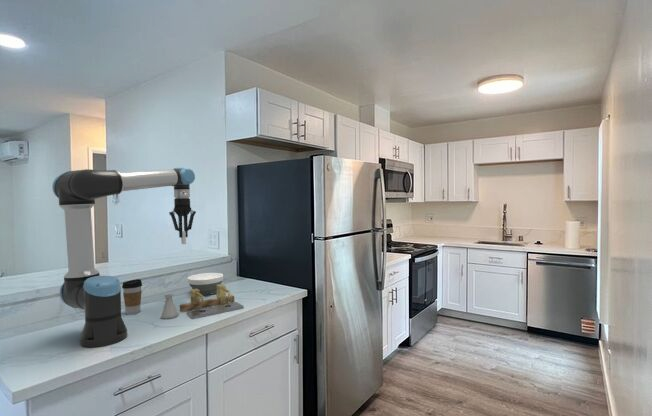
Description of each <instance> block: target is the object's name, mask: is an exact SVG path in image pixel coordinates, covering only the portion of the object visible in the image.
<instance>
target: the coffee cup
mask: <svg viewBox="0 0 652 416" xmlns="http://www.w3.org/2000/svg"><path fill="white" fill-rule="evenodd" d="M142 286H143V281H142V279H139V278H138V279H137V278H136V279H131V280H128V281H127V280H126V281H124V282H122V285H121V289H123V294H122V295H123V300H124V301H123V302H124V307H125V314H127V315H135V314H139V313H140V312H141V303H142V302H141V301H142V291H143V290H142Z"/></svg>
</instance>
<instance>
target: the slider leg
mask: <svg viewBox="0 0 652 416" xmlns="http://www.w3.org/2000/svg"><path fill="white" fill-rule="evenodd" d="M216 289H217V291H216V298H220V304H221V305H223V304H224V303H226V296H228V298H229V300H230V295H231V290H229V289H227V285H225V284H224V283H221V284H219V285H216ZM226 304H227V303H226Z"/></svg>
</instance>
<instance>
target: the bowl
mask: <svg viewBox="0 0 652 416" xmlns="http://www.w3.org/2000/svg"><path fill="white" fill-rule="evenodd" d="M223 280H224V274H223V273H220V272H203V273H198V274H197V273H196V274H192V275H190V276H188V277H187V283H188V285H189V286H190V287H191V289H198V290H200V294H201V295H203V296H207V295H208V294H209V295H213V294H215V293H217V289H216V285H219V284H223V283H222V282H223Z"/></svg>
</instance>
